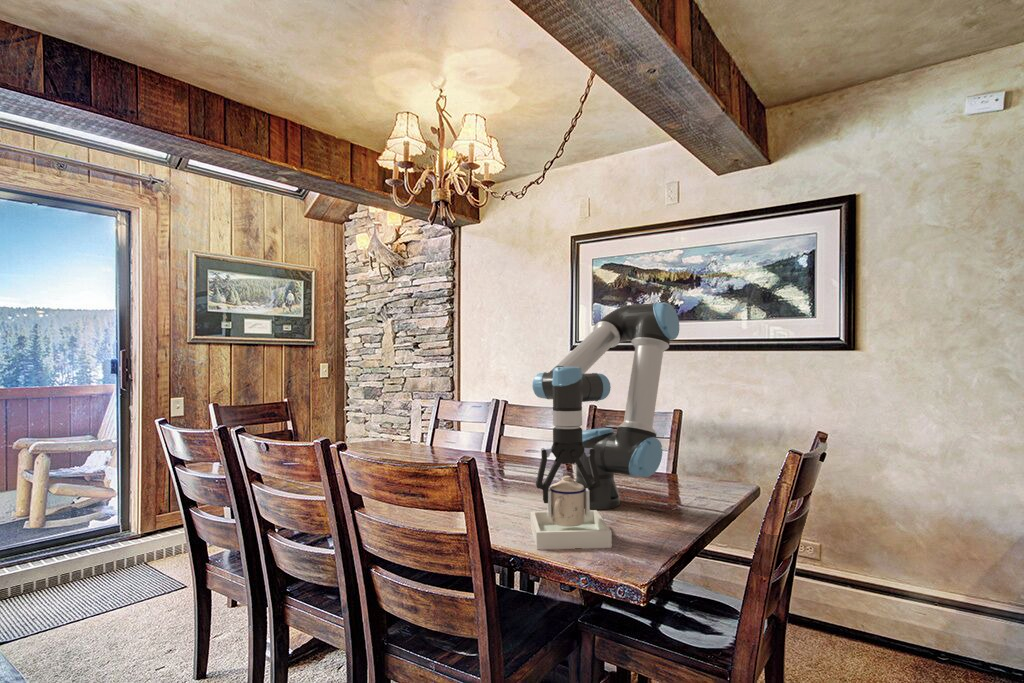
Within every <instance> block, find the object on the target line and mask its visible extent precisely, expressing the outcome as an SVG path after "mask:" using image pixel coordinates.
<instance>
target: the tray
mask: <svg viewBox="0 0 1024 683" xmlns="http://www.w3.org/2000/svg"><path fill="white" fill-rule="evenodd" d="M530 529H531V532H532V538H533V540H534V541H533V542H534V544H535V548H536V549H535V550H537V549H540V550H569V549H570V550H573V549H575V548H582V549H611V548H612V543H613V542H612V537H613V536H612V530H611V528H610V527H609V526H608V524H607V522H606V521H605V520H604V518H603V517H602V516H601V514H600V513H599V511H598V509H590V517H587V516H586V515H585V509H584V523H583V524H581V525H579V526H572V527H566V526H559V525H555V524H553V523H552V522H551V517H548V515H547V510H542V511H541V510H539V511H537V510H536V511H534V510H533V511H530ZM575 550H576V549H575Z"/></svg>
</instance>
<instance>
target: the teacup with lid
mask: <svg viewBox="0 0 1024 683" xmlns="http://www.w3.org/2000/svg"><path fill="white" fill-rule="evenodd" d="M575 481H576V480H574V479H572V476H571V475H564V476H563V478H562V479H561V480H559V481H558V482H554V483H551V485H550V487H549V489H550V490H551V522H552V523H553V524H555V525H559V526H566V527H572V526H579V525H581V524H583V523H584V510H585V508H584V491H585V487H584V486H583V485H582V484H579V483H577V482H575Z"/></svg>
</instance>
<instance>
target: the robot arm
mask: <svg viewBox="0 0 1024 683" xmlns="http://www.w3.org/2000/svg"><path fill="white" fill-rule="evenodd" d="M679 319H680V318H679V316H678V314H677V311H676V309H675V308H674V307H673V305H672V304H670V303H669V302H651V303H641V304H628V305H627V304H626V305H623V306H621V307H618V308H616V309H614V310H612V311H611V312H609V313H608V314H606V315H605V316H603V317H602V318H601V319H600V320H598V322H597V323H596V324H594V326H593V330H592V332H590V333H589V334H588V336H586V337H585V338H584V339H583V340H581V342H580V343H579V344H577V346H576V347H574V349H572V350H571V351H570V352H569V353H568V354H567V355H566V356H565V357H564V358H562V359H561V361H559V362H558V363H557V364H556V365H555V366H554V367H553V368H552V369H551V370H550V371H549V372H546V371H545V372H544V371H543V372H539V373H537V374H536V375H535V376H534V378H533V380H532V384H531V385H532V390H533V393H534V394H535V396H536V397H537V398H539V399H545V400H552V425H553V426H554V427H553V428H552V446H551V447H548V448H544V447H543V448H541V449H540V456H541V458H540V462H539V463H540V464H539V466H538V468H539V469H538V472H537V476H536V482H535V486H536V488H537V489H540V490H541V491H542V501H543V504H546V507H547V508H546V511H547V515H548V517H551V490H550V486H551V485H552V484H553V483H552V482H553V481H554V478H555V476H556V474H557V472H558V471H559V468H560V467H561V465H567V464H570V465H575V470H576V473H575V474H576V475H575V476H576V477H575V480H574V481H575V482H577V483H579V484H582V485H583V486H584V487H585V491H584V510H585V515H586V516H587V517H590V510H609V509H614V508H618V507H619V506H620V504H621V500H620V499H621V497H620V496H621V495H620V493H619V491H618V487H617V484H616V481H615V474H619V475H620V474H621V475H626V476H630V477H631V476H632V477H634V478H640V477H641V478H649V477H651V476H653V475H654V474H655V473H656V472H657V471H658V469H659V467H660V465H661V462H662V457H663V448H662V447H663V445H662V442H661V441H660V439H658V438H657V435H658V434H657V432H656V430H655V428H653V426H654V419H655V411H656V405H657V397H658V390H659V385H660V384H659V383H660V377H661V371H662V362H663V358H664V356H663V355H664V352H665V351H667V350H668V349H669V348H670V342H671V341H673V340H675V339H677V338H678V336H679V333H680V320H679ZM628 341H630V342H631V344H632V346H633V347H634V354H633V359H632V366H631V373H630V378H629V386H628V390H627V391H628V392H627V397H626V398H627V399H626V404H625V410H624V418H623V422H622V423H620V424H619V425H617V429H616V433H615V432H614V428H611V427H603V428H602V427H601V428H592V429H584V430H583V428H582V427H581V426H583V403H584V402H585V403H586V402H599V401H602V400H605V399H607V397H608V396H609V395H610V393H611V388H612V387H611V382H610V379H608V377H607V376H606V375H605V374H603V373H597V372H592V373H587V371H588V370H590V368H592V366H593V365H595V363H596V362H598V361H599V359H601V358H602V356H604V355H605V353H607V351H608V350H610V348H611V349H612V348H615V347H617V346H618V345H619V344H620V343H623V342H628ZM551 454H553V455H554V457H555V459H554V461H553V464H552V466H551V468H550V470H549V472H548V474H547V476H546V478H545V480H544V477H545V476H544V475H545V471H546V467H547V462H548V458H550V456H551ZM543 480H544V482H543Z"/></svg>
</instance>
